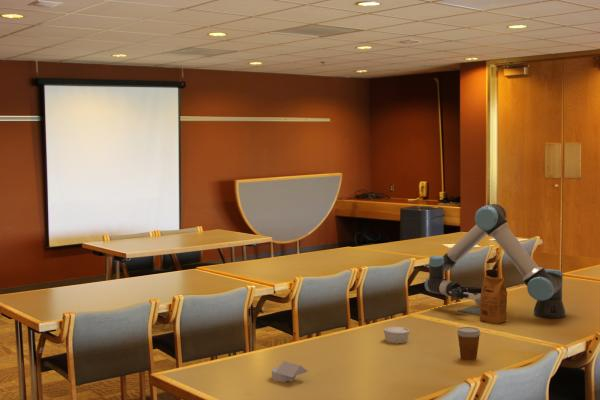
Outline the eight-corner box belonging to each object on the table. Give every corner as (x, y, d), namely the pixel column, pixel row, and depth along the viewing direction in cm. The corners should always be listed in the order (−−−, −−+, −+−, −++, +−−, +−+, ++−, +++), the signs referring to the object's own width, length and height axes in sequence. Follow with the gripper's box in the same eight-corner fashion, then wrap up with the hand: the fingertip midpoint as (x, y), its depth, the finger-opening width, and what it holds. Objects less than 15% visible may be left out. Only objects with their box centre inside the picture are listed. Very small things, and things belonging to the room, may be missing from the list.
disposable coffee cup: (453, 355, 319) (453, 327, 318) (476, 354, 319) (476, 326, 318) (460, 362, 309) (460, 332, 308) (483, 361, 310) (484, 332, 309)
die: (488, 310, 402) (496, 294, 404) (473, 302, 403) (481, 286, 405) (484, 312, 410) (492, 297, 412) (470, 304, 411) (478, 288, 413)
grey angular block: (308, 380, 289) (283, 373, 298) (308, 362, 288) (283, 356, 297) (292, 386, 282) (266, 378, 291) (291, 368, 282) (266, 361, 291)
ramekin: (412, 343, 338) (412, 332, 337) (387, 345, 336) (387, 333, 335) (404, 337, 349) (404, 325, 348) (380, 338, 347) (380, 327, 346)
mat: (500, 313, 393) (500, 312, 393) (486, 316, 385) (486, 315, 385) (471, 307, 406) (471, 306, 406) (457, 311, 398) (457, 310, 398)
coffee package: (488, 317, 384) (488, 273, 382) (509, 321, 375) (510, 276, 373) (476, 320, 377) (476, 276, 376) (497, 325, 368) (498, 279, 366)
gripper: (466, 292, 404) (499, 299, 387) (433, 299, 389) (466, 306, 372) (466, 278, 404) (499, 284, 387) (433, 284, 389) (466, 291, 372)
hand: (483, 295), depth 379 cm, fingers open, 13 cm apart
